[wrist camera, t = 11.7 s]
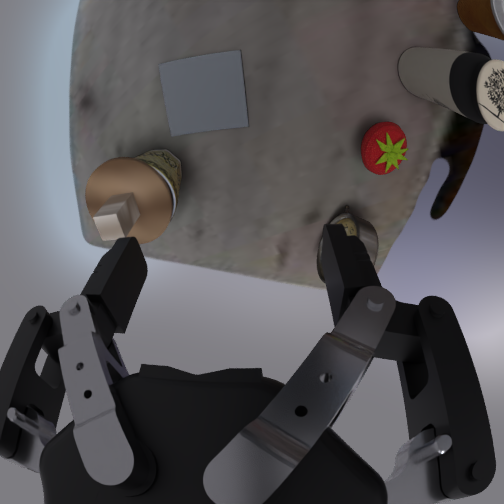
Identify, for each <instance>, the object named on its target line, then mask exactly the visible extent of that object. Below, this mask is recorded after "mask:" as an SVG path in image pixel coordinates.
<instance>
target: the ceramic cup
mask: <svg viewBox="0 0 504 504" xmlns="http://www.w3.org/2000/svg"><path fill="white" fill-rule="evenodd" d="M135 159H138V160H141V161H143V162H145V163H147V164H149V165H150V166H152V167H153V168H154V169H155V170H156V171H157V172H158V173H159V174H160V175H161V176H162V177H163V178H164V180H165V181H166V183H167V185H168V187H169V189H170V192H171V195H172V199H173V213H172V217H171V219H172V218H173V216H174V213H175V210H176V207H177V203H178V197H179V188H180V182H181V177H182V172H181V161H180V160H179V159H178V158H177V157H176V156H174V155H173V154H172V153H171V152H170V151H168V150H167V149H165V150H150V151H148V152H146V153H144V154H141V155H139V156H137V157H135ZM171 219H170V221H171Z"/></svg>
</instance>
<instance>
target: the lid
mask: <svg viewBox="0 0 504 504" xmlns="http://www.w3.org/2000/svg"><path fill="white" fill-rule="evenodd" d="M85 196H86V204H87V207H88V210H89V213H90V215H91V217H92V218H93V220H94V222H95V224H96V226H97V228H98V231H99V233H100V235H101V238H102V240H103V241H105V240H117V239H118V238H122V237H133V236H134V237H136V238H137V240H138V243H139V244H144V243H148V242H151V241H153V240H155V239H156V238H158V237H159V236H160V235H161V234H162V233H163V232H164V231H165V229H166V228H167V226H168V224H169V222H170V219H171V217H172V213H173V199H172V195H171V192H170V189H169V187H168V185H167V183H166V181H165V180H164V178H163V177H162V176H161V175H160V174H159V173H158V172H157V171H156V170H155V169H154V168H153V167H152V166H150V165H149V164H147V163H145V162H143V161H141V160H138V159H135V158H130V157H118V158H113V159H110V160H108V161H106V162H104V163H103V164H102V165H100V166H99V167H98V168H97V169H96V170H95V171H94V172H93V173H92V175H91V176H90V178H89V180H88V183H87V186H86V195H85Z"/></svg>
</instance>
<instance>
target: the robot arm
mask: <svg viewBox="0 0 504 504" xmlns="http://www.w3.org/2000/svg"><path fill="white" fill-rule="evenodd" d="M322 269H323V273H324V278H325V282H326V287H327V292H328V296H329V301H330V306H331V311H332V316H333V321H334V326H335V328H334V329H333V331H332V332H331V333H328V332H327V333H325V334H324V335H323V336H322V338H321V339H320V340H319V342H318V343H317V344H316V346H315V347H314V349H313V350H312V351H311V353H310V354H309V356H308V357H307V358H306V359H305V360H304V362H303V363H302V364H301V366H300V367H299V368H298V370H297V371H296V372H295V373H294V375H293V376H292V377H291V378H290V380H289V381H288V382H287V383H286V385H285V384H283V383H281V382H279V381H277V380H274V379H271V378H267V377H263V374H262V369H261V368H245V369H243V368H241V369H240V368H237V369H236V368H235V369H234V368H229V369H225V370H220V371H215V372H210V373H205V374H201V375H195V374H191V373H188V372H184V371H181V370H178V369H175V368H172V367H169V366H158V365H147V364H141V368H140V372H139V373H135V374H132V375H129V373H128V371H127V369H126V367H125V364H124V362H123V360H122V357H121V354H120V352H119V349H118V347H117V344H116V342H115V340H114V339H113V335H114V333H125V331H126V328H127V325H128V323H129V320H130V318H131V315H132V312H133V309H134V307H135V304H136V302H137V299H138V297H139V294H140V292H141V289H142V287H143V284H144V282H145V280H146V277H147V271H148V270H147V264H146V261H145V258H144V256H143V253H142V251H141V248H140V245H139V243H138V240H137V238H136V237H134V236H133V237H122V238H118V239H117V241H116V242H115V244H114V246H113V247H112V249H110V250H109V251H108V252H107V253H106V254H105V255H104V256H103V257H102V258H101V260H100V261H99V263H98V265H97V267H96V268H95V270H94V271H93V272H94V273H93V274H92V275H91V276H90V278H89V280H88V282H87V284H86V286H85V287H84V289H83V291H82V293H81V294H80V295H76V296H73V297H71V298H69V299H68V300H67V301H66V302H65V303H64V304H63V305H62V307H61V309H60V311H57V312H53V313H50V314H49V313H48V312H47V310H46V309H45V308H44V307H43V306H36V307H34V308H32V309H31V310H30V311H29V312H28V313H27V314H26V315H25V317H24V319H23V321H22V323H21V325H20V327H19V329H18V331H17V333H16V335H15V337H14V339H13V342H12V344H11V346H10V348H9V350H8V353H7V355H6V358H5V360H4V362H3V365H2V367H1V370H0V456H1V457H3V458H4V459H6V460H8V461H10V462H12V463H14V464H16V465H19V466H21V467H23V468H27V469H30V470H32V471H34V472H37V473H40V476H41V480H42V485H43V492H44V503H45V504H434V503H440V502H445V501H450V500H455V499H459V498H464V497H468V496H472V495H475V494H478V493H480V492H482V491H483V490H485V489H486V488H487V487H488V485H489V484H490V483H491V481H492V479H493V477H494V474H495V470H496V460H495V453H494V447H493V440H492V435H491V429H490V424H489V419H488V415H487V410H486V406H485V402H484V398H483V395H482V391H481V387H480V383H479V380H478V377H477V373H476V370H475V367H474V364H473V361H472V358H471V355H470V352H469V349H468V346H467V344H466V341H465V338H464V336H463V333H462V330H461V328H460V325H459V323H458V320H457V318H456V316H455V313H454V311H453V309H452V307H451V305H450V304H449V303H448V302H447V301H446V300H444V299H442V298H440V297H437V296H427V297H425V298H423V299H422V300H421V301H420V303H419V305H414V304H408V303H402V302H399V301H396V300H395V298H394V296H393V295H392V293H390V292H389V291H388V290H387V289H385V288H382V286H381V283H380V281H379V278H378V276H377V273H376V271H375V268H374V266H373V263H372V261H371V259H370V256H369V254H368V253H367V249H366V247H365V245H364V243H363V242H362V241H361V240H360V239H359V238H358V237H357V236H356V235H351V236H347V233H346V231H345V228H344V226H343V224H324V227H323V242H322ZM41 348H42V349H43V350H44V351H45V352H46V353H47V354H48V356H47V359H46V362H45V364H44V367H43V370H42V373H41V375H40V376H38V374H37V373H36V371H35V362H36V359H37V357H38V355H39V352H40V350H41ZM374 357H376V358H382V359H389V360H395V361H397V365H398V371H399V376H400V381H401V386H402V391H403V397H404V404H405V410H406V417H407V424H408V432H409V441H408V442H406V443H405V444H404V445H402V447H401V448H400V449H399V451H398V452H397V455H396V461H395V467H394V470H393V472H392V474H391V475H390V476H389V478H388V479H387V480H385V481H383V479H382V478H381V477H380V475H379V474H378V473H377V472H376V471H375V470H374V469H373V468H372V467H371V466H370V465H368V463H366V462H365V461H364V460H363V459H362V458H361V457H360V456H359V455H358V454H357V453H356V452H355V451H354V450H353V449H352V448H350V446H349V445H347V444H346V442H344V441H343V440H342V439H341V438H340V437H339V436H338V435H337V434H336V433H335V432H334V431H333V430H332V429H331V428H332V427H333V425H334V424H335V422H336V421H337V419H338V418H339V416H340V415H341V413H342V412H343V410H344V408H345V407H346V405H347V404H348V402H349V400H350V398H351V397H352V395H353V393H354V392H355V390H356V388H357V387H358V385H359V383H360V381H361V380H362V378H363V376H364V375H365V373H366V371H367V369H368V367H369V366H370V364H371V362H372V360H373V358H374ZM65 391H66V392H67V396H68V400H69V404H70V408H71V411H72V415H73V418H74V420H73V421H72V422H70V423H69V424H68V425H67V426H66V427H65V428H63V429H62V430H61V431H60V432H59V433H58V434H57V435H56V426H57V421H58V417H59V413H60V409H61V406H62V402H63V398H64V395H65Z"/></svg>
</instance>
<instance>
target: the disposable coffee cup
mask: <svg viewBox="0 0 504 504" xmlns="http://www.w3.org/2000/svg"><path fill="white" fill-rule="evenodd" d="M457 9H458V14H459V17H460V19H461V21H462V22H463V24H464V25H465V26H466V27H467V28H468V29H469V30H471V31H473V32H477V33H480V34H484V35H488V36H491V37H495V38H498V39H501V40H504V0H459V2H458V4H457Z"/></svg>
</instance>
